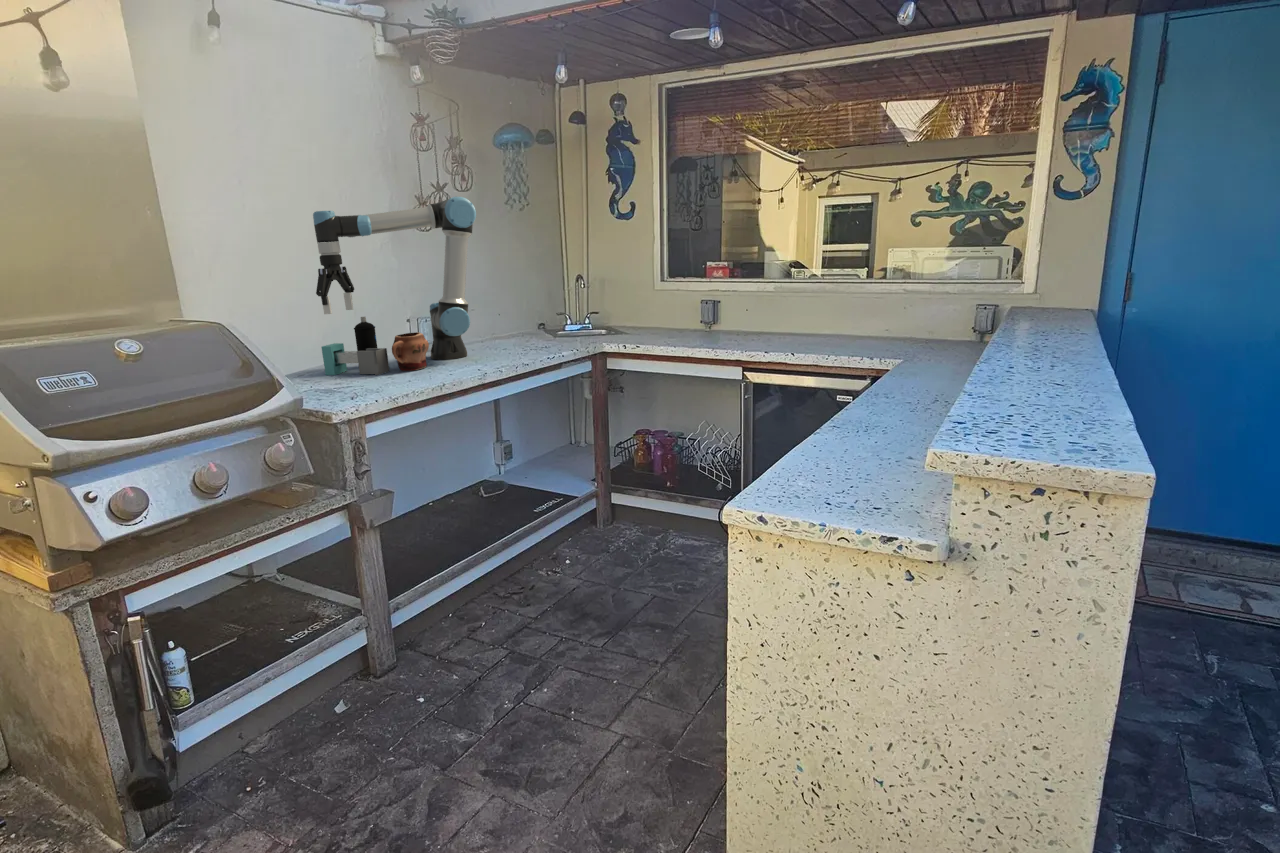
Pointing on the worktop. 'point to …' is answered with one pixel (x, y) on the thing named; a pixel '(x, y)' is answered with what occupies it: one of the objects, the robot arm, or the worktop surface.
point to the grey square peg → (345, 356)
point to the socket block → (329, 359)
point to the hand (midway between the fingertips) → (339, 312)
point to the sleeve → (373, 361)
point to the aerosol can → (365, 335)
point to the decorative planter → (410, 351)
